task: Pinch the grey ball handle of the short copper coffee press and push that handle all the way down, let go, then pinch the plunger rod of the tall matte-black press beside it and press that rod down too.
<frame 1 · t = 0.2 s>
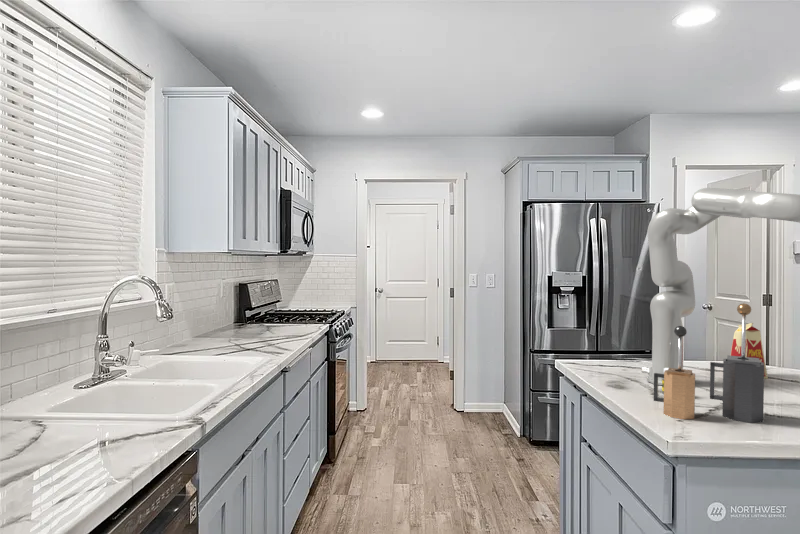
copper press: (679, 415, 138), on the counter
supplement bottle: (670, 396, 159), on the counter
plunger rod: (743, 341, 137), point 20 cm above the counter, slide at 9.0 cm
black press: (742, 417, 137), on the counter
milk carton: (746, 376, 188), on the counter
grey ball handle: (679, 356, 138), point 16 cm above the counter, slide at 6.5 cm
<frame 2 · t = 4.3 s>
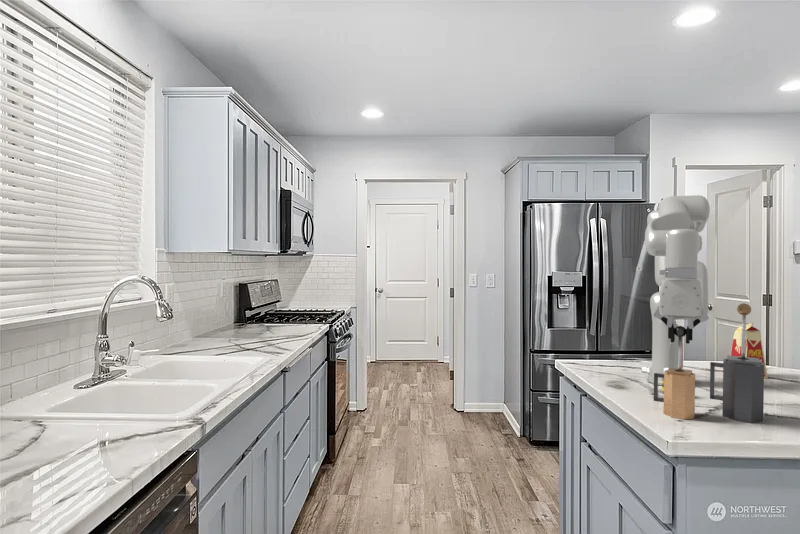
hand: (680, 341, 138), 20 cm above the counter, tool pointing down, fingers closed on grey ball handle, 3 cm apart
grey ball handle: (679, 356, 138), point 16 cm above the counter, slide at 6.5 cm, touching gripper
everything else where it was.
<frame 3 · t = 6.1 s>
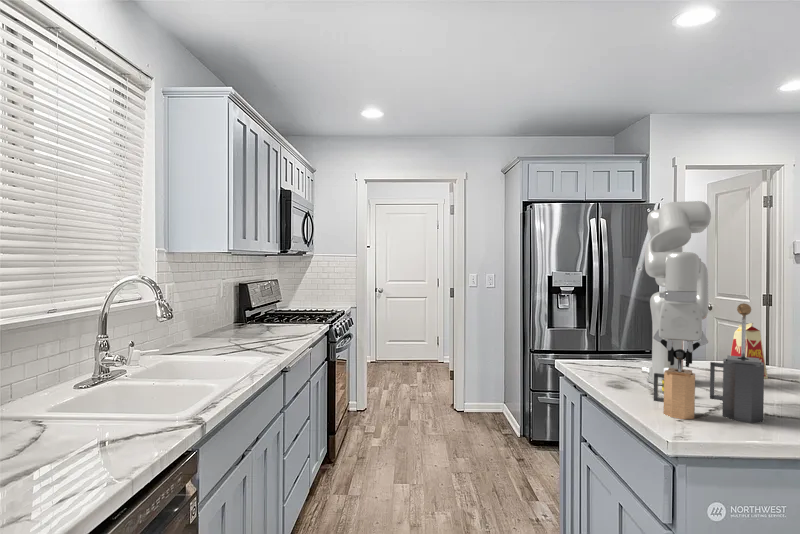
hand: (679, 364, 138), 14 cm above the counter, tool pointing down, fingers closed on grey ball handle, 3 cm apart
grey ball handle: (679, 379, 138), point 10 cm above the counter, slide at 0.2 cm, touching gripper
everything else where it was.
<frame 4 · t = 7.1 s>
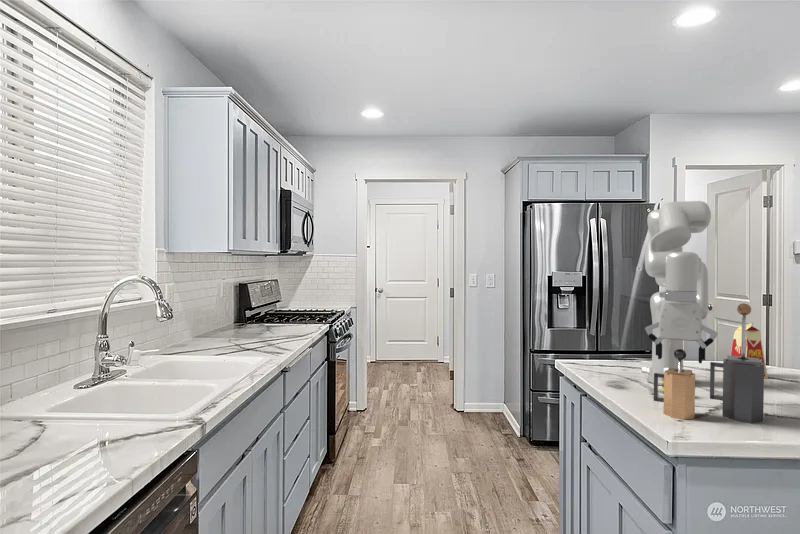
hand: (679, 360, 138), 15 cm above the counter, tool pointing down, fingers open, 9 cm apart
grey ball handle: (679, 379, 138), point 10 cm above the counter, slide at 0.2 cm
everything else where it was.
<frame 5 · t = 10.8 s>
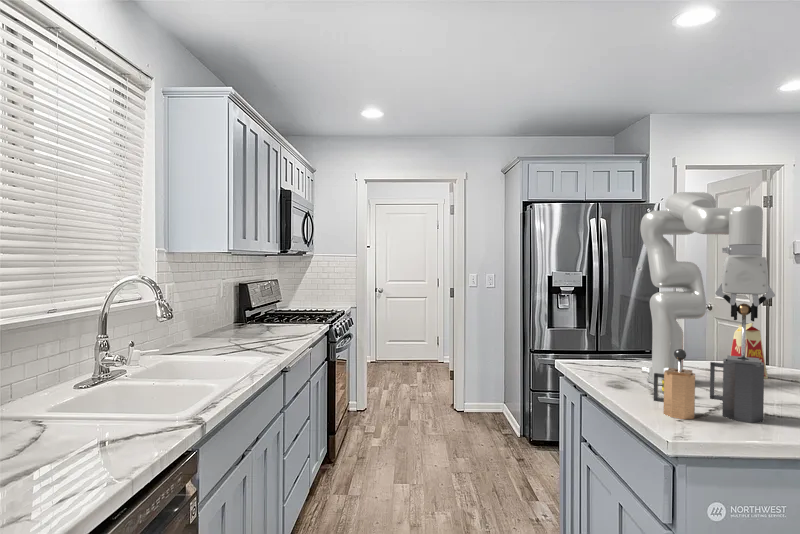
hand: (743, 319, 137), 26 cm above the counter, tool pointing down, fingers closed on plunger rod, 3 cm apart
plunger rod: (743, 341, 137), point 20 cm above the counter, slide at 9.0 cm, touching gripper
everything else where it was.
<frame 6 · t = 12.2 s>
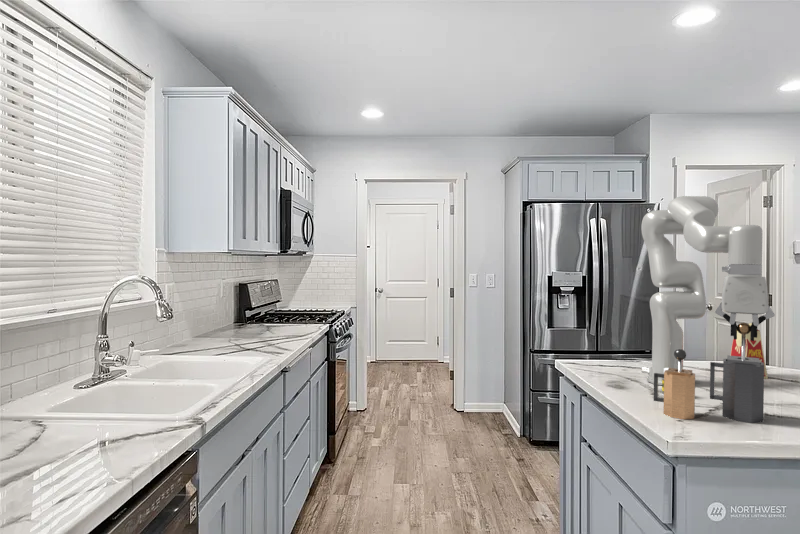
hand: (743, 338, 137), 21 cm above the counter, tool pointing down, fingers closed on plunger rod, 3 cm apart
plunger rod: (743, 361, 137), point 15 cm above the counter, slide at 3.8 cm, touching gripper
everything else where it was.
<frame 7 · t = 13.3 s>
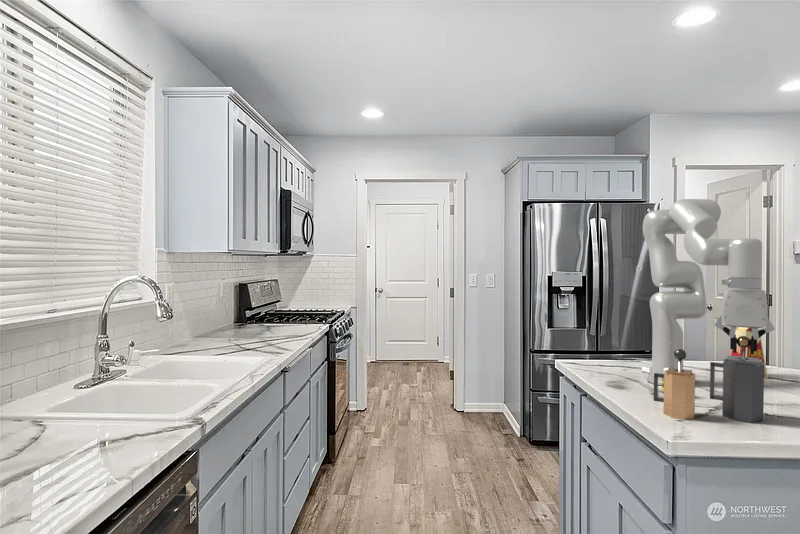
hand: (743, 352, 137), 18 cm above the counter, tool pointing down, fingers closed on plunger rod, 3 cm apart
plunger rod: (743, 374, 137), point 12 cm above the counter, slide at 0.2 cm, touching gripper
everything else where it was.
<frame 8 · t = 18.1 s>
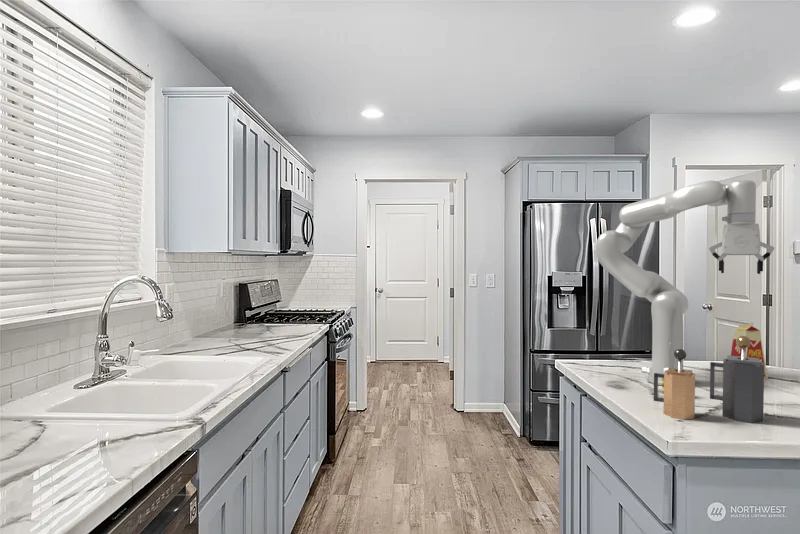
hand: (740, 273, 163), 38 cm above the counter, tool pointing down, fingers open, 9 cm apart
plunger rod: (743, 374, 137), point 12 cm above the counter, slide at 0.2 cm
everything else where it was.
at the end: grey ball handle slide at 0.2 cm; plunger rod slide at 0.2 cm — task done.
